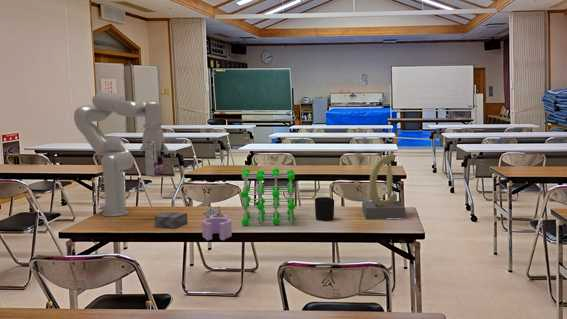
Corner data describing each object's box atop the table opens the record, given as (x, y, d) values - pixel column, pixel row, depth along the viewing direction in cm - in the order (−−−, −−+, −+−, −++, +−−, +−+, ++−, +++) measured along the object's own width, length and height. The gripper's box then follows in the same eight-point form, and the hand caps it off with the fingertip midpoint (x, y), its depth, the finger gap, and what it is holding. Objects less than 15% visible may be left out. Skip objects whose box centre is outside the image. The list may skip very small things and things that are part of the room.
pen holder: (337, 218, 298) (337, 197, 297) (330, 221, 289) (330, 201, 288) (319, 216, 302) (319, 196, 301) (311, 220, 293) (311, 199, 292)
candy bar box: (154, 172, 305) (153, 139, 303) (164, 172, 304) (163, 139, 302) (145, 176, 294) (144, 141, 292) (155, 176, 293) (153, 142, 291)
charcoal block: (154, 227, 284) (154, 216, 283) (167, 222, 294) (166, 211, 294) (175, 228, 280) (175, 217, 280) (187, 223, 290) (187, 213, 290)
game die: (217, 230, 292) (229, 213, 292) (210, 227, 284) (222, 209, 285) (204, 219, 296) (216, 202, 296) (196, 216, 288) (209, 199, 288)
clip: (206, 229, 277) (205, 214, 277) (233, 229, 277) (233, 214, 277) (200, 240, 258) (200, 224, 257) (230, 240, 258) (229, 224, 257)
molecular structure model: (244, 215, 307) (243, 167, 304) (294, 214, 307) (293, 166, 304) (241, 226, 283) (240, 174, 280) (295, 225, 283) (294, 173, 280)
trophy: (405, 219, 293) (405, 157, 290) (366, 219, 294) (366, 157, 290) (399, 211, 312) (399, 152, 308) (362, 211, 312) (362, 153, 309)
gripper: (133, 127, 295) (135, 164, 298) (164, 128, 290) (165, 166, 292) (142, 126, 302) (143, 163, 305) (172, 127, 297) (173, 164, 299)
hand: (154, 164), depth 298 cm, fingers closed on candy bar box, 5 cm apart
